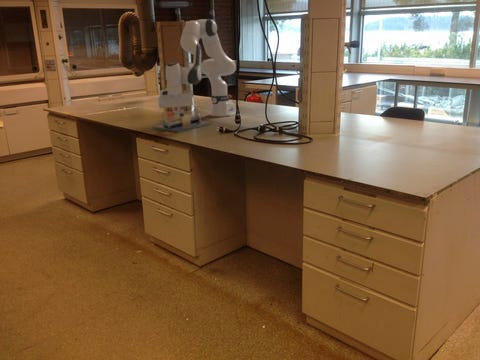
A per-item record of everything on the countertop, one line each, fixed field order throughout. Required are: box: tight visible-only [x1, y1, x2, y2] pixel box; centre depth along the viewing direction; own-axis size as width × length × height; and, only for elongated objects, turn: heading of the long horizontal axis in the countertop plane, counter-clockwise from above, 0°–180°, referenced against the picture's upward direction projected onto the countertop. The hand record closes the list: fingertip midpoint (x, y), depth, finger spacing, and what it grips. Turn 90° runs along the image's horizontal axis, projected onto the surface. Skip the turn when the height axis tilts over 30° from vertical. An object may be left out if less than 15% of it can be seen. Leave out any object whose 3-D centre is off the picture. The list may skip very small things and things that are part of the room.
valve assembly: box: [152, 113, 213, 133], centre depth 282 cm, size 30×22×7 cm
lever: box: [167, 108, 186, 118], centre depth 274 cm, size 17×4×4 cm, turn 159°
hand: (176, 114), depth 268 cm, fingers closed
